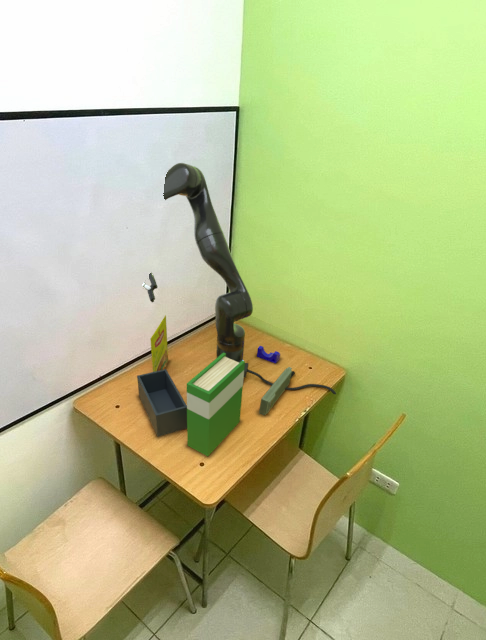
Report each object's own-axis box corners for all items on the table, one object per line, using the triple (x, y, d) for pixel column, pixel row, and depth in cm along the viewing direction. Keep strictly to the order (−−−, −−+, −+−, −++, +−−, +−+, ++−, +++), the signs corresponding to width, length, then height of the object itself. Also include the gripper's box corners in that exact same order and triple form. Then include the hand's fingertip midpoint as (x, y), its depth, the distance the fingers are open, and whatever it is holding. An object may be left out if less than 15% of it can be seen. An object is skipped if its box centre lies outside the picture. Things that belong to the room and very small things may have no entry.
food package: (155, 387, 152) (152, 338, 139) (152, 386, 152) (148, 338, 140) (169, 361, 164) (167, 314, 151) (166, 361, 164) (164, 314, 152)
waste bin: (167, 389, 151) (166, 368, 146) (187, 428, 137) (187, 406, 132) (139, 396, 148) (136, 375, 142) (157, 437, 134) (155, 415, 128)
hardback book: (220, 412, 144) (223, 352, 129) (239, 421, 141) (244, 361, 126) (187, 445, 132) (186, 383, 117) (207, 456, 129) (209, 394, 114)
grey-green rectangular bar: (257, 412, 144) (288, 373, 162) (266, 417, 143) (296, 376, 160) (259, 397, 140) (291, 358, 157) (268, 402, 139) (300, 362, 156)
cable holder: (279, 358, 168) (280, 350, 166) (275, 363, 166) (277, 354, 164) (260, 352, 171) (261, 343, 169) (256, 356, 169) (257, 348, 166)
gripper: (151, 261, 153) (164, 302, 149) (114, 276, 155) (125, 317, 151) (143, 251, 146) (156, 294, 142) (104, 267, 148) (116, 309, 144)
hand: (140, 306), depth 146 cm, fingers open, 8 cm apart
